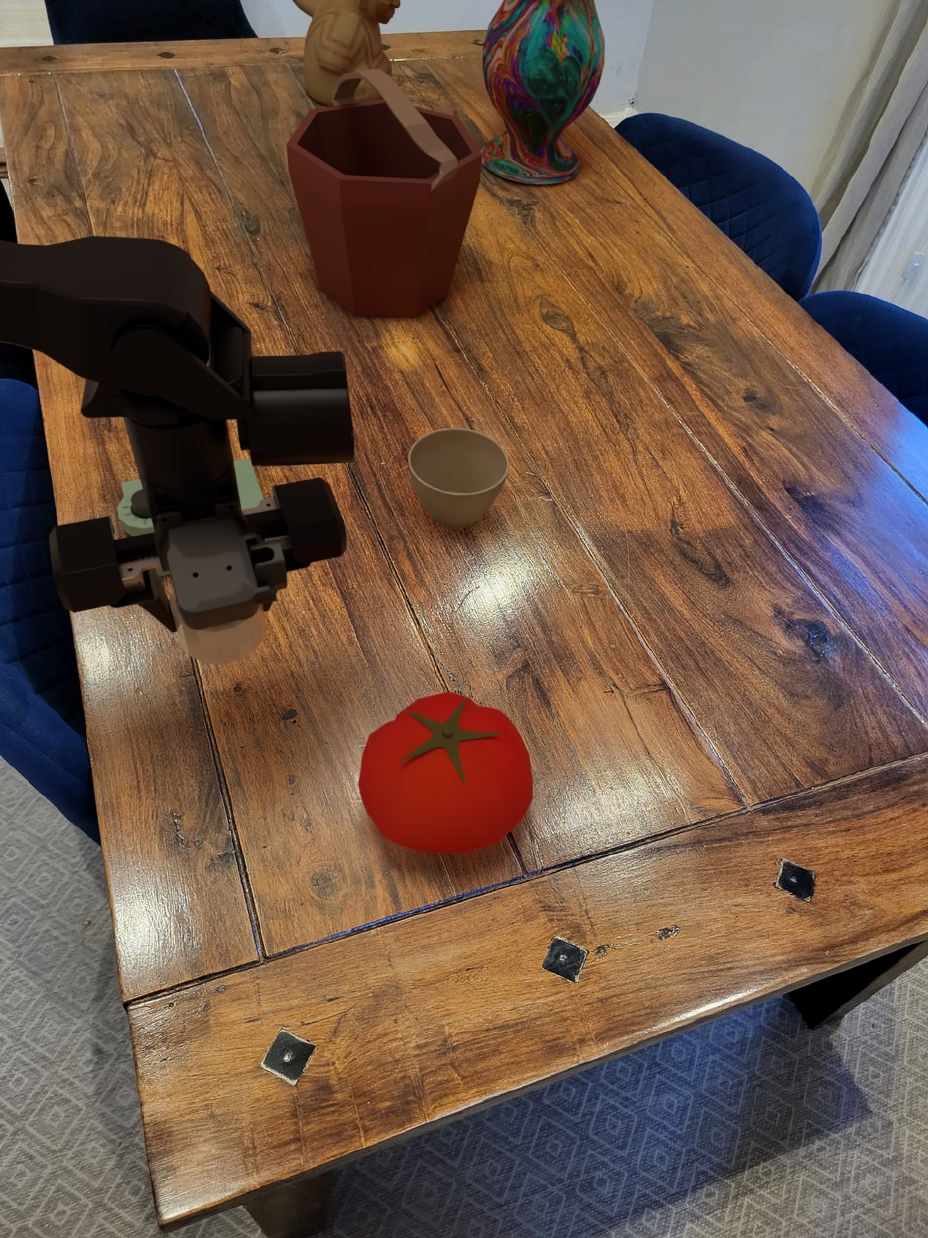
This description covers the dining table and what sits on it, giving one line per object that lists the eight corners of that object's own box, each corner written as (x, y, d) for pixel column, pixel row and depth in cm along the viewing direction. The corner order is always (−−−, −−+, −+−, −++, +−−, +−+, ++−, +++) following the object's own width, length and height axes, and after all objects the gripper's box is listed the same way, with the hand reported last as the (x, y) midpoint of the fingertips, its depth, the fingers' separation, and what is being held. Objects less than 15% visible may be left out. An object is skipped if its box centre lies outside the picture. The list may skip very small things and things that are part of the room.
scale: (135, 582, 82) (127, 557, 80) (117, 497, 89) (109, 471, 86) (279, 550, 86) (276, 525, 84) (251, 471, 93) (247, 445, 90)
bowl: (188, 677, 65) (177, 640, 61) (174, 612, 68) (163, 574, 65) (274, 656, 66) (268, 619, 63) (256, 594, 70) (250, 556, 66)
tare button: (136, 521, 83) (132, 509, 82) (132, 503, 84) (128, 491, 83) (164, 516, 84) (161, 504, 83) (159, 497, 85) (156, 486, 84)
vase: (586, 145, 149) (624, -73, 126) (584, 196, 138) (626, -34, 114) (479, 132, 149) (498, -89, 126) (468, 181, 138) (486, -51, 114)
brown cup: (516, 534, 90) (525, 482, 85) (425, 555, 87) (428, 503, 82) (480, 471, 96) (486, 418, 90) (393, 489, 93) (394, 436, 87)
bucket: (486, 329, 113) (508, 123, 93) (315, 347, 108) (301, 132, 88) (436, 233, 127) (446, 36, 107) (283, 244, 122) (265, 40, 102)
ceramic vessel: (385, 123, 148) (386, -57, 129) (275, 103, 150) (259, -78, 131) (411, 86, 159) (416, -86, 139) (309, 68, 161) (299, -105, 141)
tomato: (508, 731, 75) (523, 659, 67) (537, 868, 68) (559, 806, 60) (352, 746, 73) (349, 674, 65) (365, 889, 66) (363, 827, 58)
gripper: (31, 587, 46) (101, 738, 59) (369, 519, 52) (370, 671, 64) (18, 452, 53) (84, 614, 65) (321, 404, 58) (330, 562, 70)
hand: (219, 617), depth 66 cm, fingers closed on bowl, 6 cm apart
